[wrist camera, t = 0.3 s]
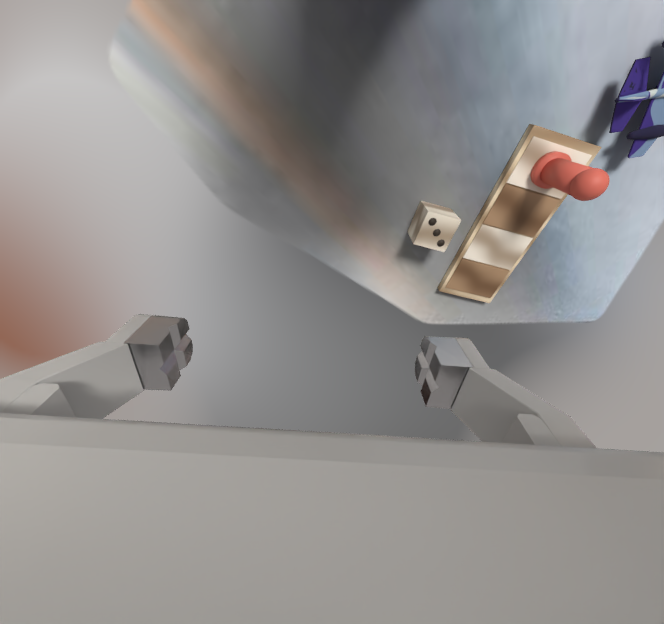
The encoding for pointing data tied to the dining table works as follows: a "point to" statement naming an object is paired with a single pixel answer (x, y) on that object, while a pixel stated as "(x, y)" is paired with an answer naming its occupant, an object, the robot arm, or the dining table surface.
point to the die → (433, 226)
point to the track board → (511, 217)
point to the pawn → (569, 176)
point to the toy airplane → (658, 117)
